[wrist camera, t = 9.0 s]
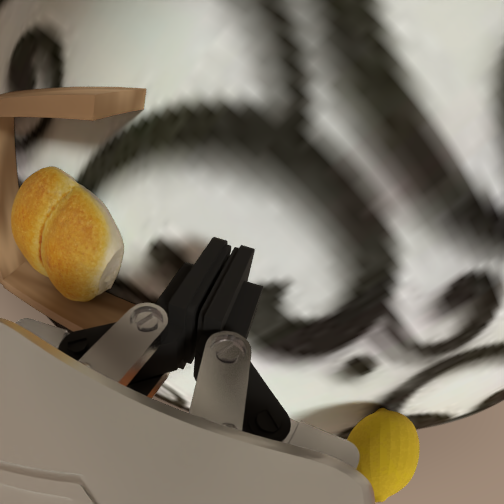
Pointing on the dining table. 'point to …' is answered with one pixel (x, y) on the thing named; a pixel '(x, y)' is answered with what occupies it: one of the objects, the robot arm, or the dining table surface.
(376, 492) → the lemon
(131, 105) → the bay
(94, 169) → the dining table surface
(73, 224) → the bread roll
